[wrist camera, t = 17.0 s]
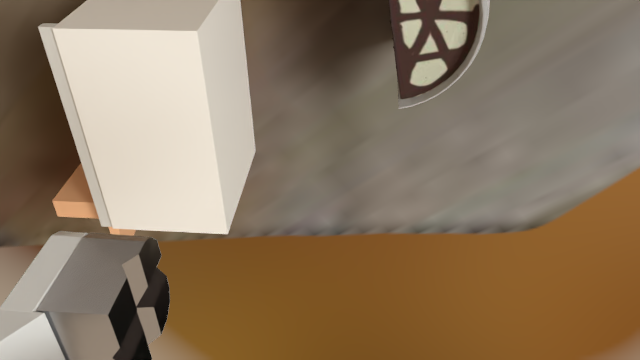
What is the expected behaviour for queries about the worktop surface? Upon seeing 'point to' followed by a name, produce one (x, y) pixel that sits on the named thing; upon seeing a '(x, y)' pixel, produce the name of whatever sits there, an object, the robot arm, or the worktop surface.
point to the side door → (80, 200)
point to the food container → (434, 44)
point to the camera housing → (157, 109)
